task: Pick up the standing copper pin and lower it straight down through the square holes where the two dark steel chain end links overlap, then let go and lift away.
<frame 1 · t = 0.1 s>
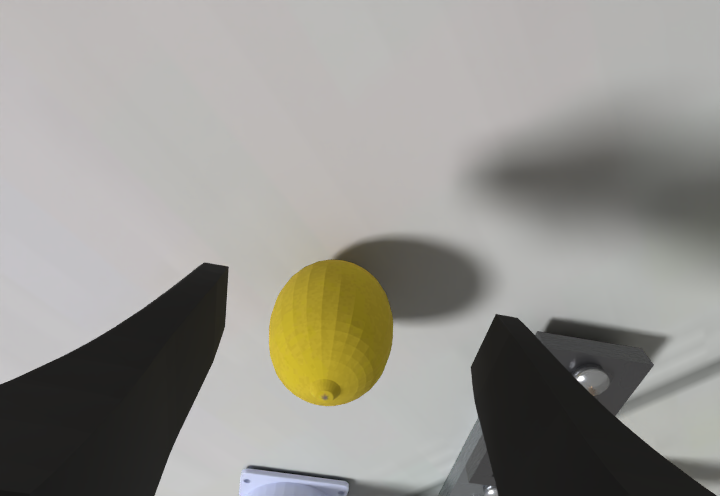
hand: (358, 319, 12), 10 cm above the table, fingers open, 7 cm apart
lemon: (337, 273, 24), on the table
chain joint: (517, 430, 30), on the table
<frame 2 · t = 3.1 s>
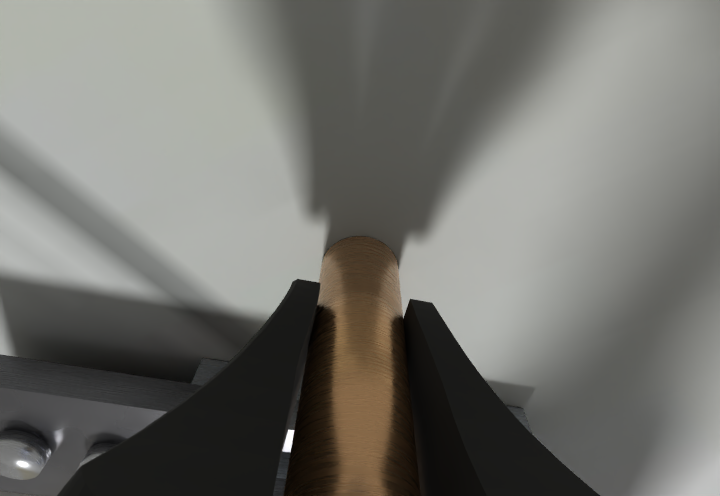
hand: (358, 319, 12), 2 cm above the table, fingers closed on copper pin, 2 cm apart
chain joint: (271, 421, 18), on the table
copper pin: (359, 269, 14), on the table, touching gripper
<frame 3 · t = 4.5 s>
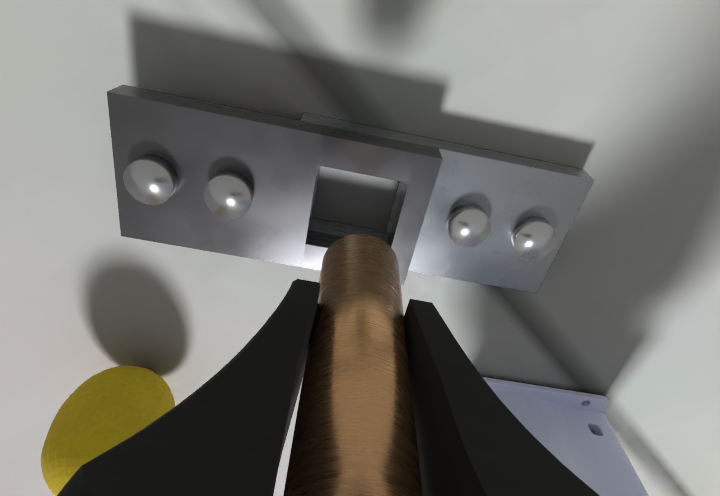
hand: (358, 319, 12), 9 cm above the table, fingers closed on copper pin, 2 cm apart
lemon: (148, 368, 27), on the table
chain joint: (356, 190, 20), on the table
copper pin: (360, 267, 14), point 7 cm above the table, touching gripper
when the fingers open (4 cm above the table, at t = 6.4 s): copper pin drops 1 cm, resting in chain joint.
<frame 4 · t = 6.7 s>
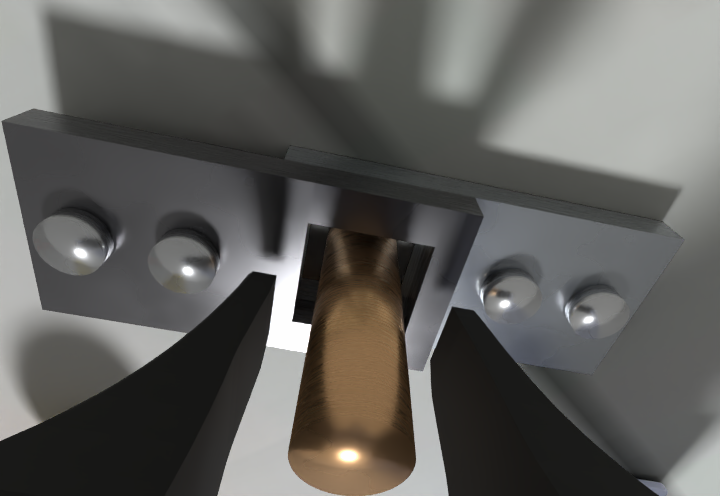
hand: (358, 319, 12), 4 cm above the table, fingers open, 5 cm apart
chain joint: (360, 245, 15), on the table
copper pin: (361, 243, 15), resting in chain joint
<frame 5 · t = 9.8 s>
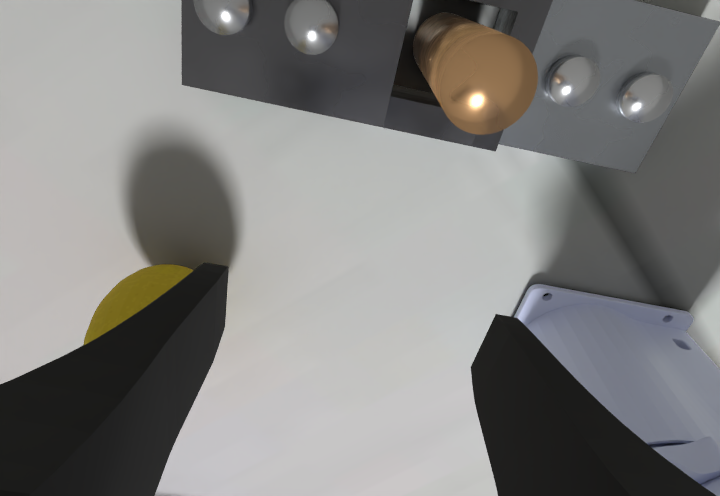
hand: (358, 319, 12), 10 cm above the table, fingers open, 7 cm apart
lemon: (190, 277, 24), on the table
chain joint: (441, 47, 18), on the table
copper pin: (442, 46, 18), resting in chain joint
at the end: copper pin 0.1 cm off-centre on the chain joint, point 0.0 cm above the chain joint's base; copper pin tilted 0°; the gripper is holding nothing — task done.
